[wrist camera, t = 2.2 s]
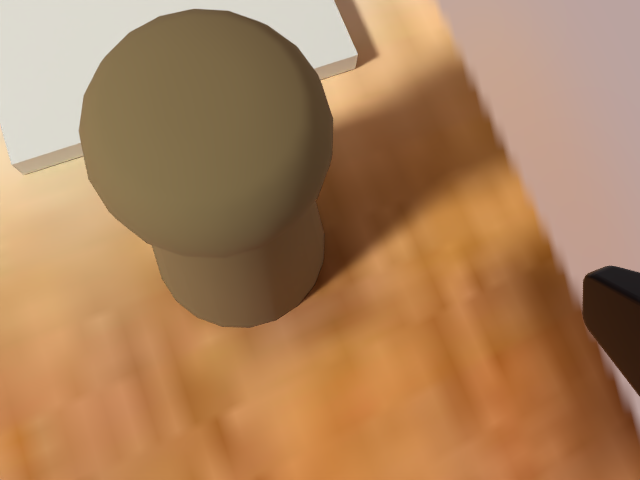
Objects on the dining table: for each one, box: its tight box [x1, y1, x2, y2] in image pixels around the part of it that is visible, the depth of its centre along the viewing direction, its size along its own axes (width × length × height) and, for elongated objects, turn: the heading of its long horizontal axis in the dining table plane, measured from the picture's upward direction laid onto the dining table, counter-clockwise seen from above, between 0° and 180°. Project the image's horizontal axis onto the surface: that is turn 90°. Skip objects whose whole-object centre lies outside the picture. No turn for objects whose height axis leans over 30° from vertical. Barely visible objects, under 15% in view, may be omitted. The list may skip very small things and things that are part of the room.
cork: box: [79, 9, 333, 328], centre depth 16 cm, size 6×6×11 cm
